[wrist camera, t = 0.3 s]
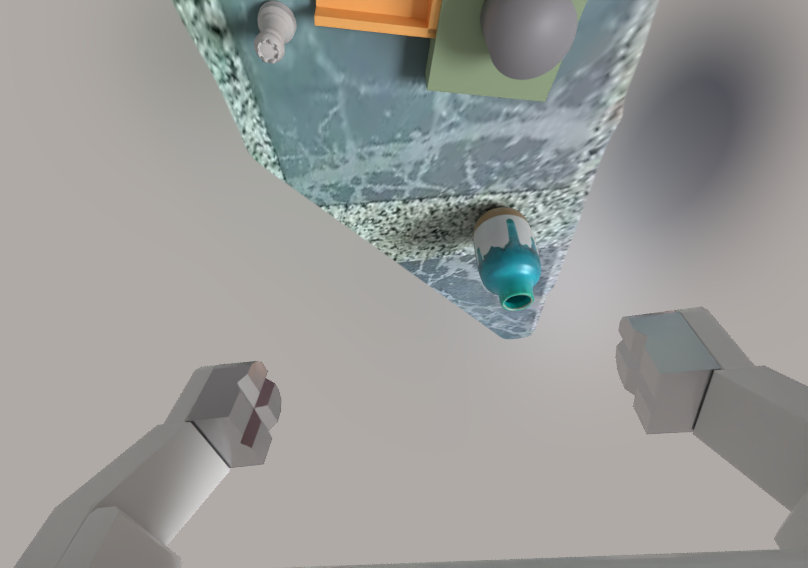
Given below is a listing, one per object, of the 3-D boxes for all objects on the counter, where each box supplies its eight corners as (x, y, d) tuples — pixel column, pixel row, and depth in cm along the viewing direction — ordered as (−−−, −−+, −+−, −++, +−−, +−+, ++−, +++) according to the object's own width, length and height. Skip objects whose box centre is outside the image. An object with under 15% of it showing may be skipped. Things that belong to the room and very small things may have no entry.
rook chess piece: (270, -11, 48) (258, 20, 43) (304, 18, 50) (297, 50, 46) (251, 21, 51) (239, 54, 46) (285, 47, 53) (276, 80, 48)
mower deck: (319, 63, 55) (312, 106, 49) (310, -155, 39) (299, -130, 33) (538, 85, 59) (556, 128, 53) (612, -105, 43) (650, -75, 37)
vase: (459, 230, 82) (473, 314, 71) (486, 191, 74) (506, 278, 63) (507, 241, 85) (527, 323, 74) (537, 204, 77) (565, 290, 66)
